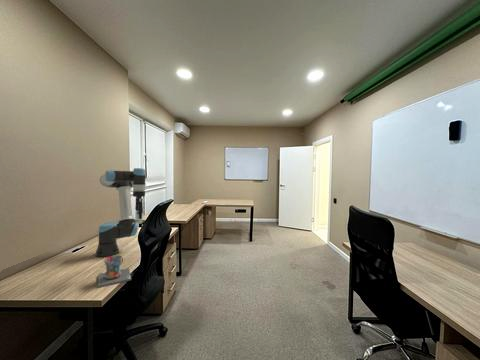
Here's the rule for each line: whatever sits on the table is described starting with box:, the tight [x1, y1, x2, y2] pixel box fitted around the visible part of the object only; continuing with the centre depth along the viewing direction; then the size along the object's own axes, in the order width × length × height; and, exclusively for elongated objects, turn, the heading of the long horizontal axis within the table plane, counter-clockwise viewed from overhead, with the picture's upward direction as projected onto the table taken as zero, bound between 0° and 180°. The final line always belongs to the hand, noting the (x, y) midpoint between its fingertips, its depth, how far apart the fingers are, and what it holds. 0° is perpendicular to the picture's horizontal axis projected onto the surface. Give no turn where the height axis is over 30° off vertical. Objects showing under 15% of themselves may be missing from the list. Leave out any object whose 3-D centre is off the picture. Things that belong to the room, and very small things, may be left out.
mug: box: [103, 255, 124, 279], centre depth 124 cm, size 12×9×11 cm
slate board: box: [97, 267, 132, 288], centre depth 123 cm, size 16×16×1 cm
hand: (138, 221), depth 145 cm, fingers open, 13 cm apart
